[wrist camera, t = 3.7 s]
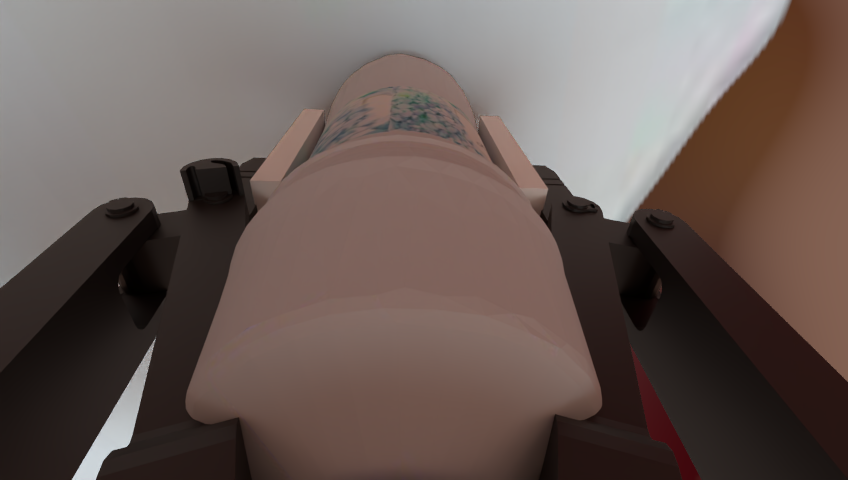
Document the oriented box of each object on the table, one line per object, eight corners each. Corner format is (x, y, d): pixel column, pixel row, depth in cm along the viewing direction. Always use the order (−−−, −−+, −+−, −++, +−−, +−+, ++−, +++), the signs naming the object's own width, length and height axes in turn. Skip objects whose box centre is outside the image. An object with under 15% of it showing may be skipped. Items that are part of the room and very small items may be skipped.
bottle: (470, 176, 21) (707, 876, 5) (345, 185, 21) (138, 922, 5) (470, 36, 18) (1525, 954, 1) (319, 47, 18) (-1017, 1159, 1)
